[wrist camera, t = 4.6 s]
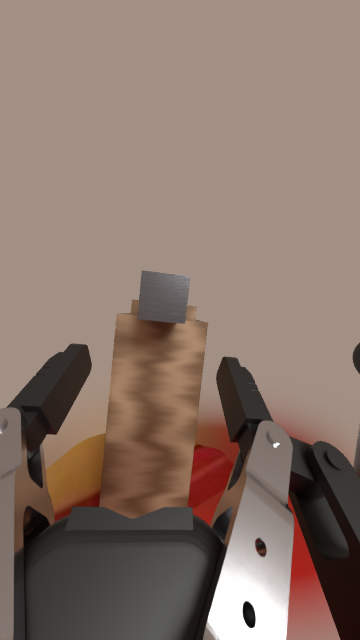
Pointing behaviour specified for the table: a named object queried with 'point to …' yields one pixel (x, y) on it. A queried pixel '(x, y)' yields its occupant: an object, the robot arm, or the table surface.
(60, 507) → the table surface
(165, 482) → the walnut stand
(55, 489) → the table surface
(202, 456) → the table surface
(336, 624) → the robot arm
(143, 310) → the lever bar
